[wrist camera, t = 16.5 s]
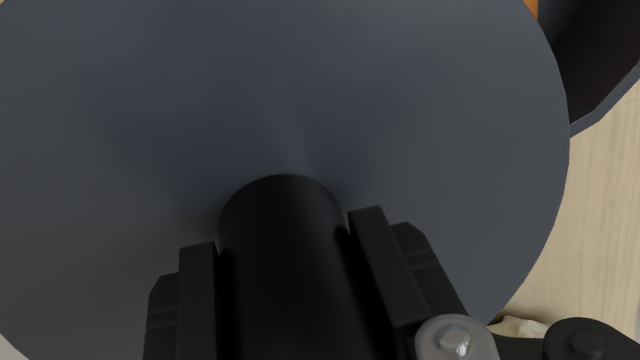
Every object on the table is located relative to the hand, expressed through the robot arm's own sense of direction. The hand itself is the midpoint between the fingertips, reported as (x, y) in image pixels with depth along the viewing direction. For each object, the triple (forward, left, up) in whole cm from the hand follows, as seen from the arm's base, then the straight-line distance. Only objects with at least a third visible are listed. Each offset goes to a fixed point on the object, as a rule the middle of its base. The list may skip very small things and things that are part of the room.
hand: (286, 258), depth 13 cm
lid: (0, 0, -2) cm, 2 cm away
